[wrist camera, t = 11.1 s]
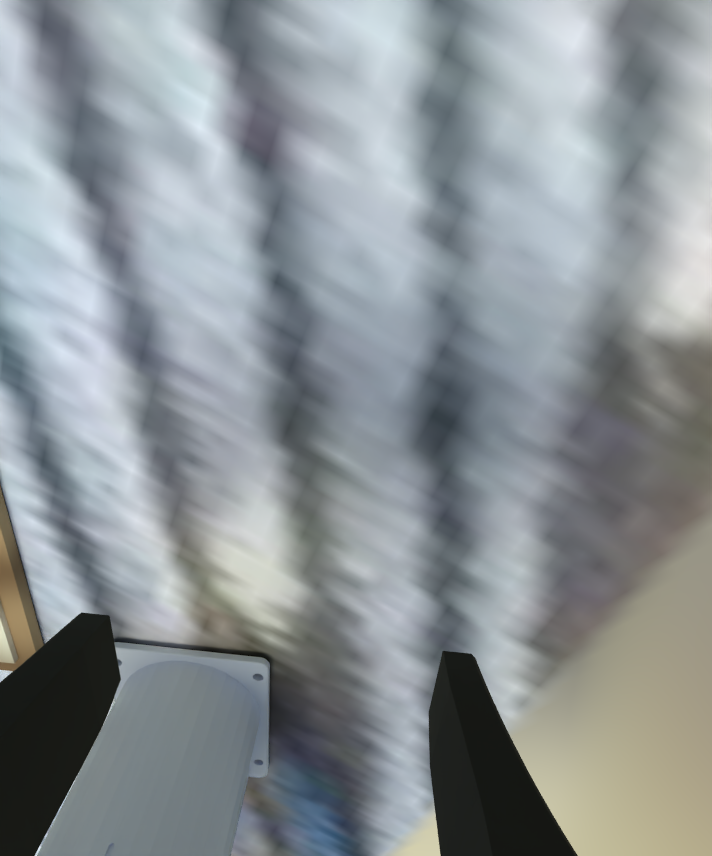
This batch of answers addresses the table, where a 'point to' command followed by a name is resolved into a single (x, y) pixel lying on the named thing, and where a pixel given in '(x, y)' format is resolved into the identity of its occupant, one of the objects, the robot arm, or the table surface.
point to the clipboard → (14, 602)
